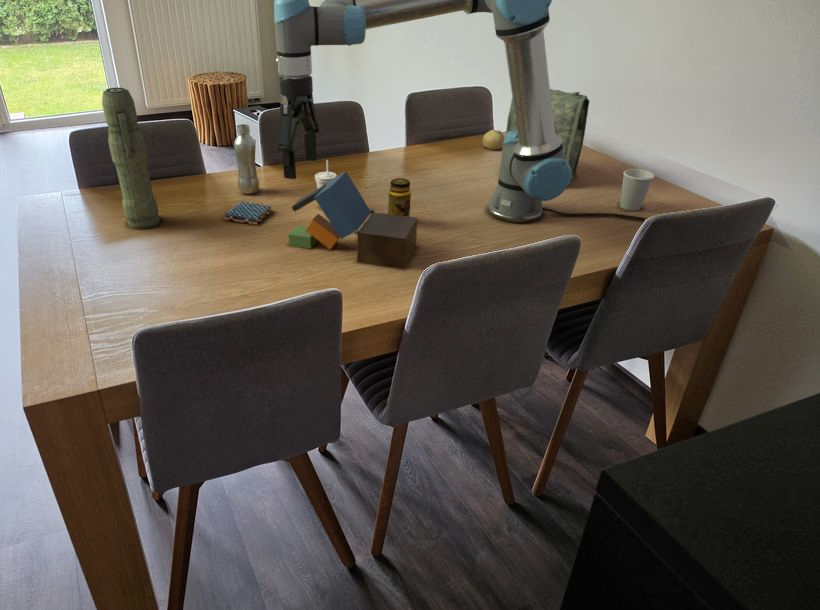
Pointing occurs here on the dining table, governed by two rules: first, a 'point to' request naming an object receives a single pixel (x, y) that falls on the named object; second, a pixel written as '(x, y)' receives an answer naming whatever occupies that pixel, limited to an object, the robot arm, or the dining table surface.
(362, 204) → the blue open box
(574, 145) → the lunch bag
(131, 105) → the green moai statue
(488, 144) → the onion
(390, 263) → the stand
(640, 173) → the dixie cup
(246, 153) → the plastic bottle
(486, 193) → the dining table surface
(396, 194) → the condiment
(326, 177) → the smoothie
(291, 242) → the green square block
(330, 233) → the orange rectangular block
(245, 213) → the woven mat
